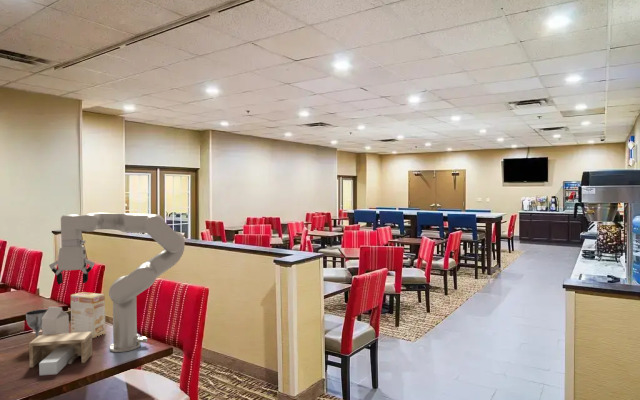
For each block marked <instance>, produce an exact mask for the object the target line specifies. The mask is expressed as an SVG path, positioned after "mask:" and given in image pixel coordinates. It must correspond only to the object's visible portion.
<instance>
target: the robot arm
mask: <svg viewBox="0 0 640 400" xmlns="http://www.w3.org/2000/svg"><path fill="white" fill-rule="evenodd" d="M96 230H111V231H113V230H114V231H119V232H122V233H127V234H128V233H130V234H131V233H132V234H133V233H136V234H147V235H148V236H149V237H150V238H152V239H153V240H154V241H155V242H156V243H157V244H158V245H160V247H162V248H163V249H162V250H161V252H159V253H157V254H156V255H155V256H153V257H151V258H150V259H148V260H146V261H145V262H143V263H141V264H140V265H138V266H137V267H136V268H135V269H134V270H133V271H132V272H130V273H128V274H127V275H122V276H120V277H119V276H118V277H117V278H116V279H115V280H114V281H113V283H112V284H111V286H110V287H109V290H108V298H110V300H111V301H112V329H113V330H112V331H113V334H112V335H113V339H112V342H113V343H111V344H110V345H109V351H111V352H114V353H126V352H131V351H134V350H136V349H138V348H139V347H140V346H141V345H142V343H147V342H148V338H147V337H146V336H140V334H139V333H138V329H137V325H138V323H137V322H138V321H137V320H138V319H137V318H138V317H137V314H138V313H137V296H139V295H140V294H141V293H143V292H144V291H146V290H147V289H149V288H150V287H151V286H153V285H154V283H155V281H156V280H157V278H158V277H160V276H161V275H162V274H164V273H166V272H167V271H168V270H170V269H171V268H172V267H174V266H175V265H177V264H178V262H179V261H180V260H181V258H182V256H183V254H184V251H185V245H186V244H185V238H184V235H183V234H182V233H180V232H179V231H175V230H174V229H173V228H172V227H170V225H169V224H167V223H166V221H165V219H164V217H163V216H162V215H160V214H156V213H155V214H154V213H126V212H125V213H114V212H112V213H111V212H91V213H90V212H89V213H87V214H80V215H79V214H63V215H62V216H61V217H60V236H61V237H60V239H61V242H60V243H61V246H60V247H59V250H58V257H57V260H56V261H54V262H53V263H51V264H49V265H48V266H49V268H50V269H51V272H53V273H54V274H55V276H56V283H57V285H61V284H63V280H64V279H63V272H64V271H79V270H80V271H82V283H83V284H86V283H87V282H88V281H89V272H91V270H92V269H93V267H94V266H95V264H96V263H95V262H94V261H92V260H90V259H87V253H86V248H85V245H83V244H86V240H84V239H83V238H82V236H83V235H82V232H87V233H89V232H95V231H96ZM56 265H57V268H56ZM88 265H89V266H88Z"/></svg>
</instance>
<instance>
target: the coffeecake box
mask: <svg viewBox="0 0 640 400" xmlns="http://www.w3.org/2000/svg"><path fill="white" fill-rule="evenodd" d="M105 296H106V295H105V294H104V293H96V292H86V291H81V292H78V293H72V294H70V324H71V325H70V326H71V327H70V328H71V329H70V330H71V332H70V333H78V332H92V339H94V338H95V339H96V338H98V337H100V335H101V336H103V335H106V308H105V307H106V305H105V304H106V301H105V300H106V299H105V298H106V297H105ZM102 334H103V335H102ZM97 336H98V337H97Z"/></svg>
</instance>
